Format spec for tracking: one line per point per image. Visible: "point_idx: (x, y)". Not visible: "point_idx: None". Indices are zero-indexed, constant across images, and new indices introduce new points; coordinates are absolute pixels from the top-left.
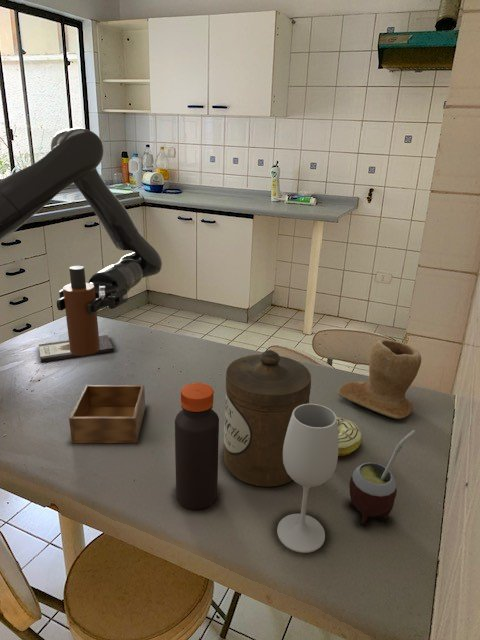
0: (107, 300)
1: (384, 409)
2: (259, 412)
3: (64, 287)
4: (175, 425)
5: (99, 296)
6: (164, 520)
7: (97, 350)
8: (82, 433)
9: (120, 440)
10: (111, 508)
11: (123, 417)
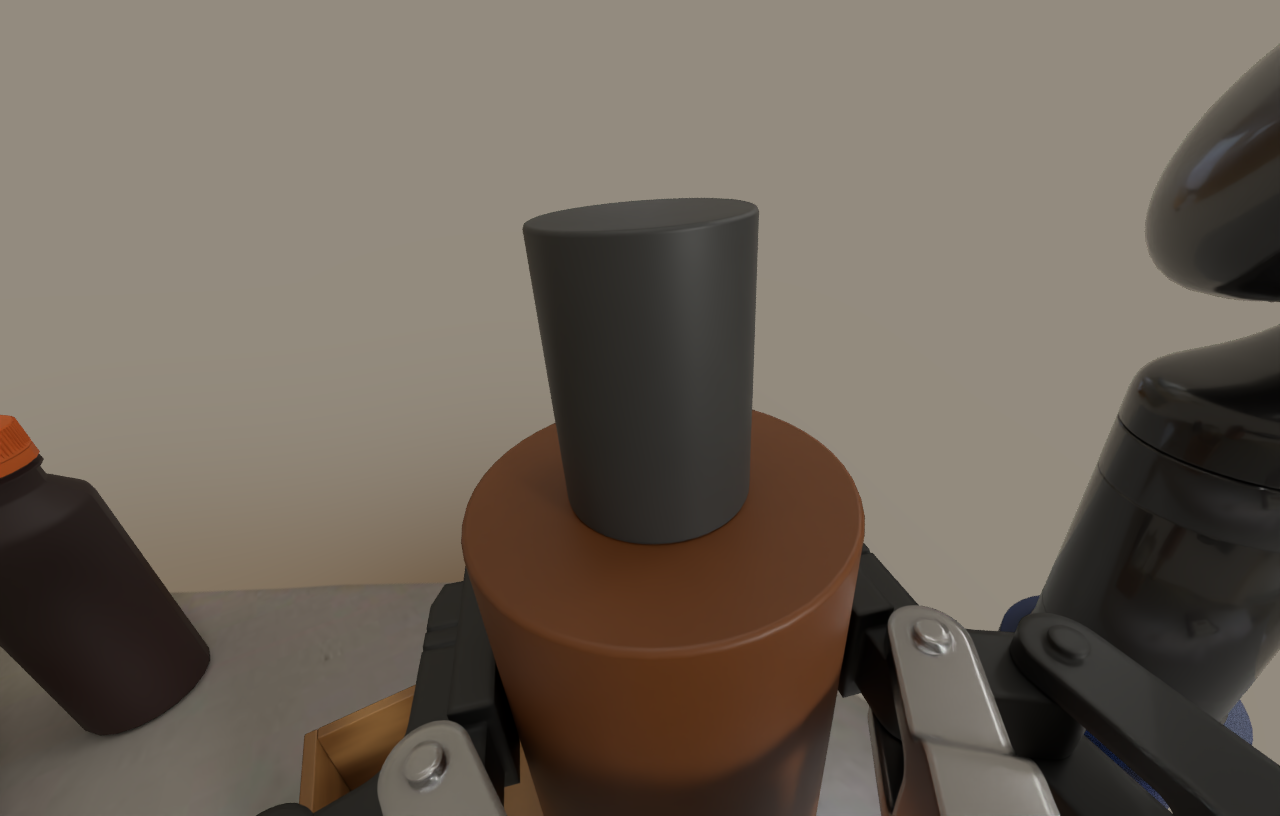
0: (342, 802)
1: None
2: None
3: (764, 420)
4: (97, 494)
5: (468, 759)
6: (247, 605)
7: None
8: None
9: None
10: (364, 584)
11: (353, 717)
